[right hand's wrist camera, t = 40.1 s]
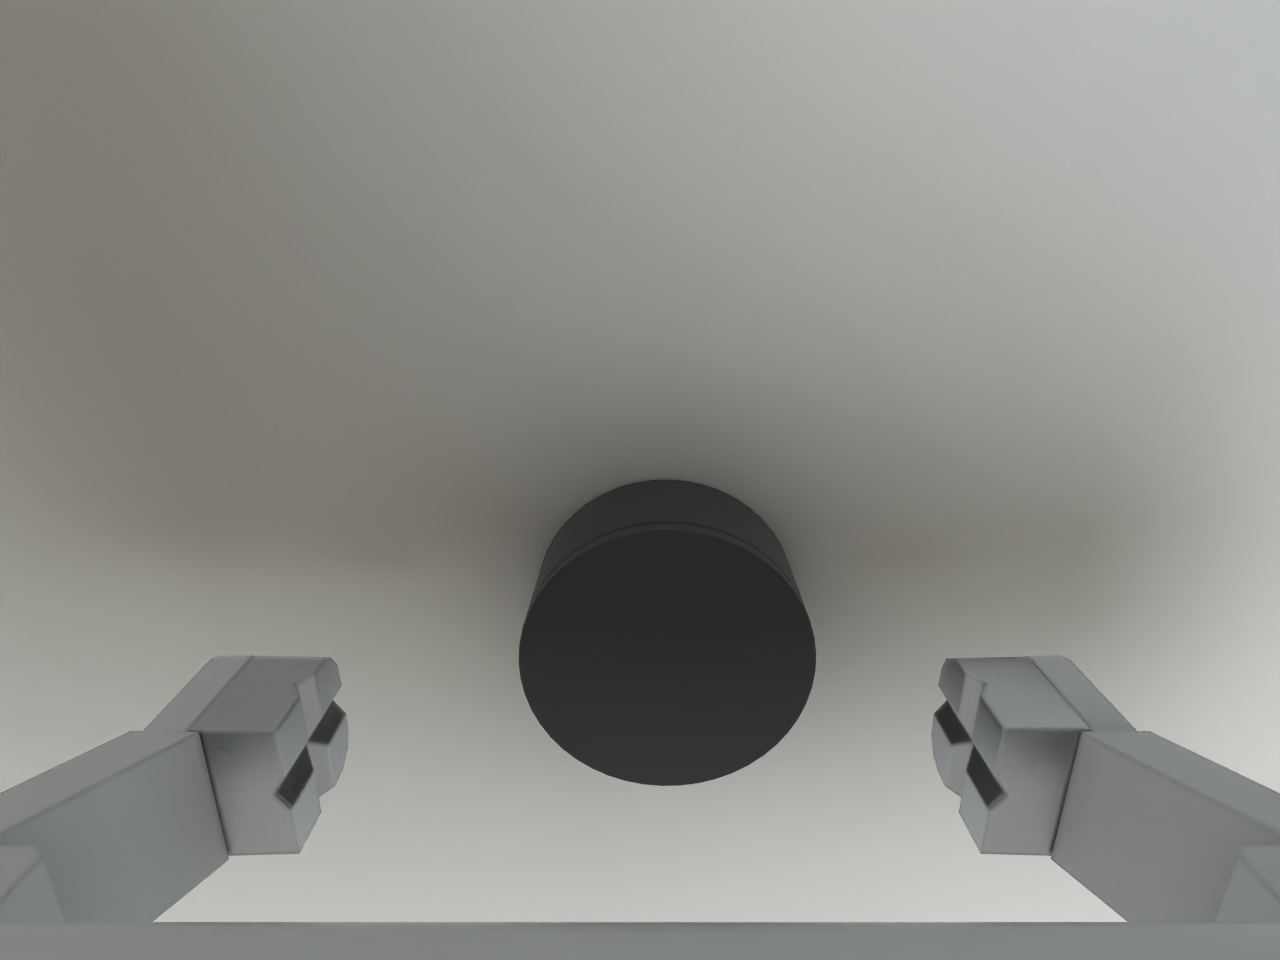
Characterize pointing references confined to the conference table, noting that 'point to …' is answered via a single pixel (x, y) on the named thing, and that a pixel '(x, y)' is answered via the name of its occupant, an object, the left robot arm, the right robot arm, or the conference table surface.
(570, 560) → the cap
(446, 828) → the conference table surface
